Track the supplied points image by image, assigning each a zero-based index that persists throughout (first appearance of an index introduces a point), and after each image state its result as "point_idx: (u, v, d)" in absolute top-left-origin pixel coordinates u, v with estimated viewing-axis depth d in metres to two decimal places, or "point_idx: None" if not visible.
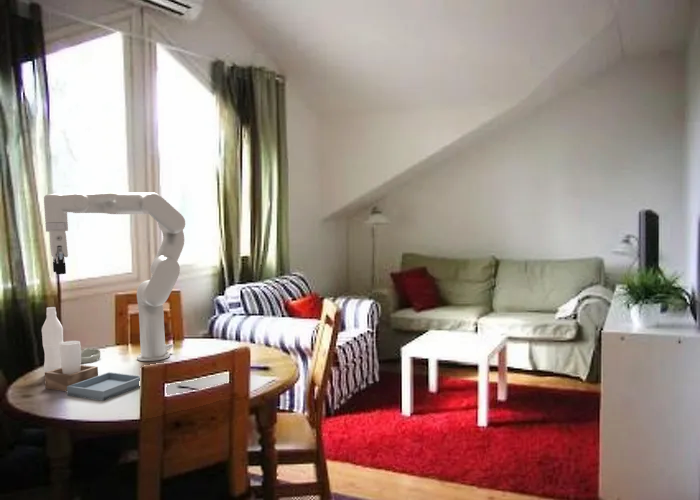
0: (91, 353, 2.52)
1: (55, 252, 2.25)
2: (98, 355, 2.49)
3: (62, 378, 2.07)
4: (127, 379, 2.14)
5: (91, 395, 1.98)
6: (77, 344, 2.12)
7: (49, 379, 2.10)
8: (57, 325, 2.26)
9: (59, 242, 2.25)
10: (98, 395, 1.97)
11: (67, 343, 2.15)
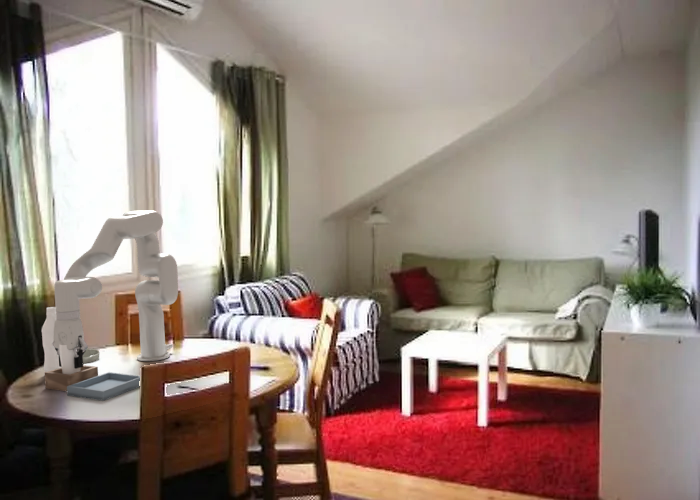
0: (90, 353, 2.52)
1: None
2: (97, 355, 2.49)
3: (62, 378, 2.07)
4: (127, 379, 2.14)
5: (91, 395, 1.98)
6: None
7: (49, 379, 2.10)
8: None
9: None
10: (98, 395, 1.97)
11: None
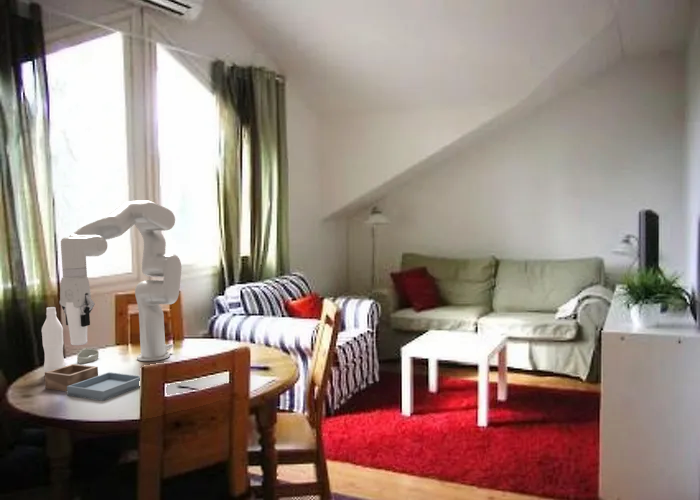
0: (89, 353, 2.51)
1: None
2: (96, 355, 2.49)
3: (62, 378, 2.07)
4: (127, 379, 2.14)
5: (91, 395, 1.98)
6: None
7: (49, 379, 2.10)
8: (57, 325, 2.26)
9: None
10: (98, 395, 1.97)
11: None
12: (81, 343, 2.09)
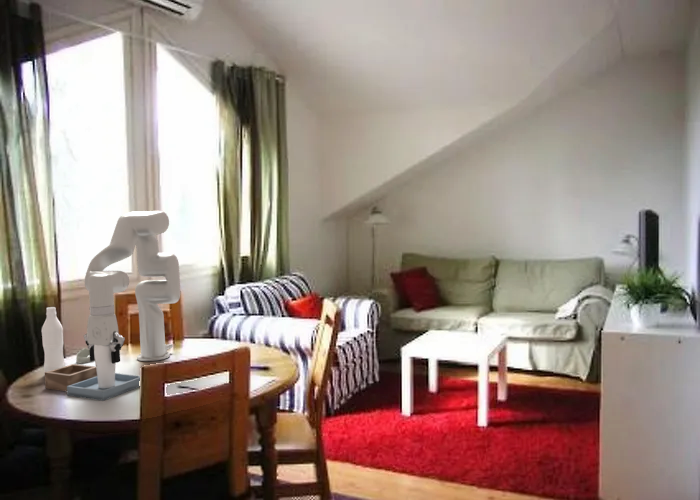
0: (88, 353, 2.51)
1: None
2: None
3: (62, 378, 2.07)
4: (127, 379, 2.14)
5: (91, 395, 1.98)
6: None
7: (49, 379, 2.10)
8: (57, 325, 2.26)
9: None
10: (98, 395, 1.97)
11: None
12: (109, 386, 2.05)
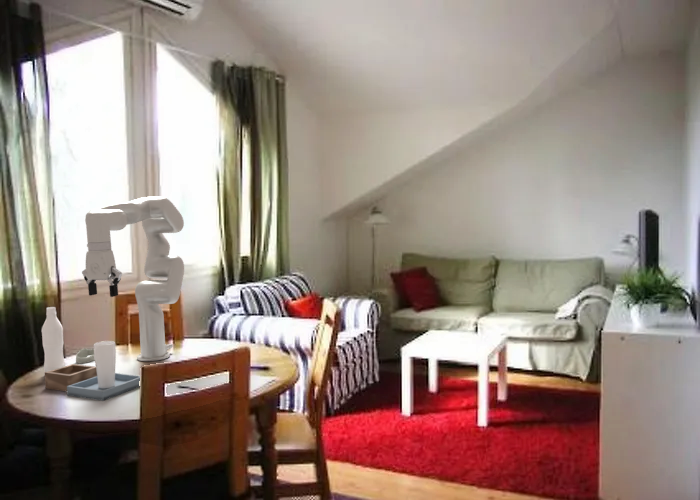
0: (87, 354, 2.51)
1: None
2: None
3: (62, 378, 2.07)
4: (127, 379, 2.14)
5: (91, 395, 1.98)
6: (112, 344, 2.05)
7: (49, 379, 2.10)
8: (57, 325, 2.26)
9: None
10: (98, 395, 1.97)
11: (101, 343, 2.09)
12: (109, 386, 2.05)
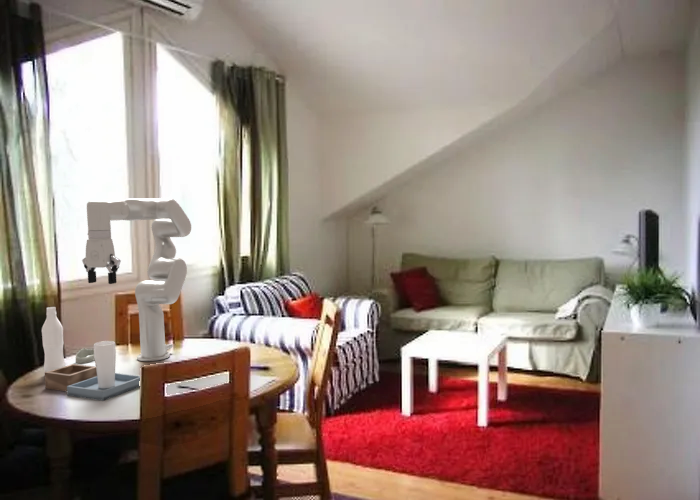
0: (87, 354, 2.51)
1: None
2: None
3: (62, 378, 2.07)
4: (127, 379, 2.14)
5: (91, 395, 1.98)
6: (112, 344, 2.05)
7: (49, 379, 2.10)
8: (57, 325, 2.26)
9: None
10: (98, 395, 1.97)
11: (101, 343, 2.08)
12: (109, 386, 2.05)
